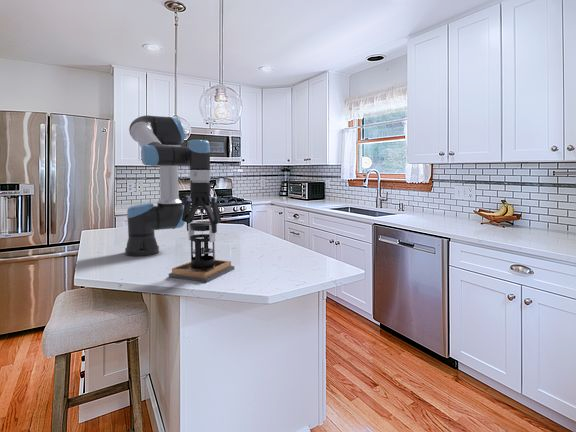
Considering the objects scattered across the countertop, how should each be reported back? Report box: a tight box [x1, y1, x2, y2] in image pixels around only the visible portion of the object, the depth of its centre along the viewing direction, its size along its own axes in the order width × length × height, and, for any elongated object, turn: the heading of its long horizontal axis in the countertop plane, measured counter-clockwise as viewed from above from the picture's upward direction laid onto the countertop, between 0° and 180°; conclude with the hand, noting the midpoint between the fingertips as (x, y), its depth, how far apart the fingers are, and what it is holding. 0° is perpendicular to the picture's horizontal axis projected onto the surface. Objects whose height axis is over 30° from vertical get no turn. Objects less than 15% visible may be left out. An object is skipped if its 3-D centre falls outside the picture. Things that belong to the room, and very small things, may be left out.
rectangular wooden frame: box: [168, 259, 235, 283], centre depth 139 cm, size 17×19×3 cm
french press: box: [190, 207, 216, 270], centre depth 137 cm, size 12×9×23 cm
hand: (201, 240), depth 137 cm, fingers closed on french press, 9 cm apart
